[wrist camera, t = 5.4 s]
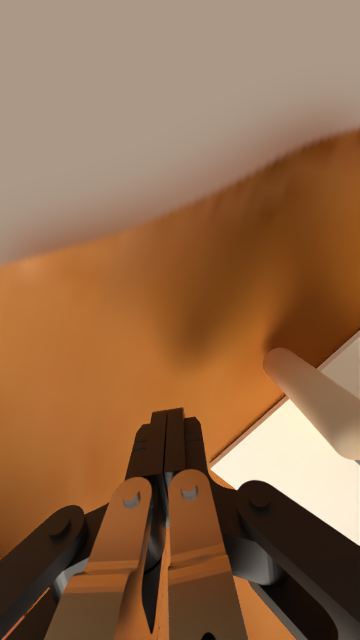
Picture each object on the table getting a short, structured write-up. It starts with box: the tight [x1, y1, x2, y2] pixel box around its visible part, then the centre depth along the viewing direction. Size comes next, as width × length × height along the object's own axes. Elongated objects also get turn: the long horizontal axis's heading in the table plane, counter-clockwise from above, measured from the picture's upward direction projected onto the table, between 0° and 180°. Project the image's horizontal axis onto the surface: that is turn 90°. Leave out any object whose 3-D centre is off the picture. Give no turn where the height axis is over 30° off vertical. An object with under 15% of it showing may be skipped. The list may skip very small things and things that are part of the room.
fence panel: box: [263, 347, 360, 460], centre depth 10 cm, size 9×2×6 cm, turn 47°
